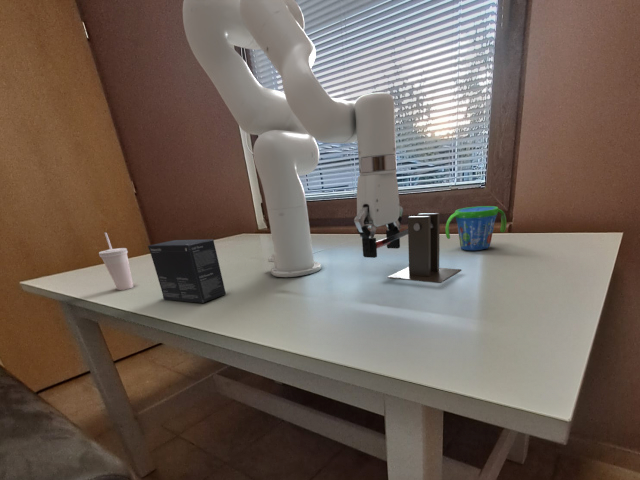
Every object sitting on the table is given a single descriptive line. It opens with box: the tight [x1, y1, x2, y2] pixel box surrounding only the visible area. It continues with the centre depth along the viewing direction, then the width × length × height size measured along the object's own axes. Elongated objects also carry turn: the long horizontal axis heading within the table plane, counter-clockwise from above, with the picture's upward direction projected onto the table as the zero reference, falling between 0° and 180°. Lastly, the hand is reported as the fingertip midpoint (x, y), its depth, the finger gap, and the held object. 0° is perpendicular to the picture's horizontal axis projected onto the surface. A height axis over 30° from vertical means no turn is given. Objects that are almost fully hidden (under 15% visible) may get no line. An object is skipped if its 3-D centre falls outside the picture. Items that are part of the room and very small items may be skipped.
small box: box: [147, 238, 227, 304], centre depth 81 cm, size 13×7×12 cm, turn 61°
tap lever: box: [376, 219, 434, 249], centre depth 78 cm, size 13×6×2 cm, turn 53°
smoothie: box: [98, 232, 134, 291], centre depth 95 cm, size 6×6×14 cm
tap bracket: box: [387, 212, 462, 284], centre depth 77 cm, size 12×10×13 cm
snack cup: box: [444, 205, 507, 252], centre depth 99 cm, size 16×10×10 cm
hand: (382, 252), depth 83 cm, fingers open, 8 cm apart
